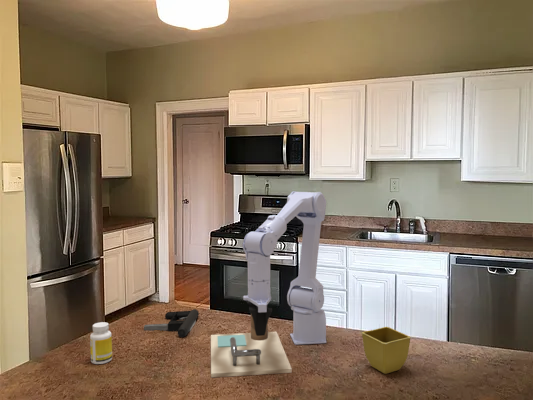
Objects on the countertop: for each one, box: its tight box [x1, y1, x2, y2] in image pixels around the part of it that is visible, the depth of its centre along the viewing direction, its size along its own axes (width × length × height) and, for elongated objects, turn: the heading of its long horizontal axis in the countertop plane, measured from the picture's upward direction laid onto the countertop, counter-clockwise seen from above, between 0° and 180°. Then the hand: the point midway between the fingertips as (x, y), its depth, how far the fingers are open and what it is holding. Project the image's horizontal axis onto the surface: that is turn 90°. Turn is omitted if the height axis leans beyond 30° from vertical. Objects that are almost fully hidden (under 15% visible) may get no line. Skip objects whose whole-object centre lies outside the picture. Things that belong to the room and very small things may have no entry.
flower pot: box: [361, 326, 412, 375], centre depth 115 cm, size 9×9×9 cm
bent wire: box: [230, 337, 261, 366], centre depth 120 cm, size 8×11×4 cm
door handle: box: [143, 308, 201, 338], centre depth 147 cm, size 3×20×16 cm
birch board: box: [210, 331, 293, 378], centre depth 125 cm, size 20×26×1 cm
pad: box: [218, 335, 247, 348], centre depth 131 cm, size 8×8×1 cm
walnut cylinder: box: [250, 314, 269, 340], centre depth 116 cm, size 4×4×6 cm
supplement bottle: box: [89, 321, 113, 365], centre depth 121 cm, size 5×5×10 cm
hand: (259, 331), depth 116 cm, fingers closed on walnut cylinder, 4 cm apart
